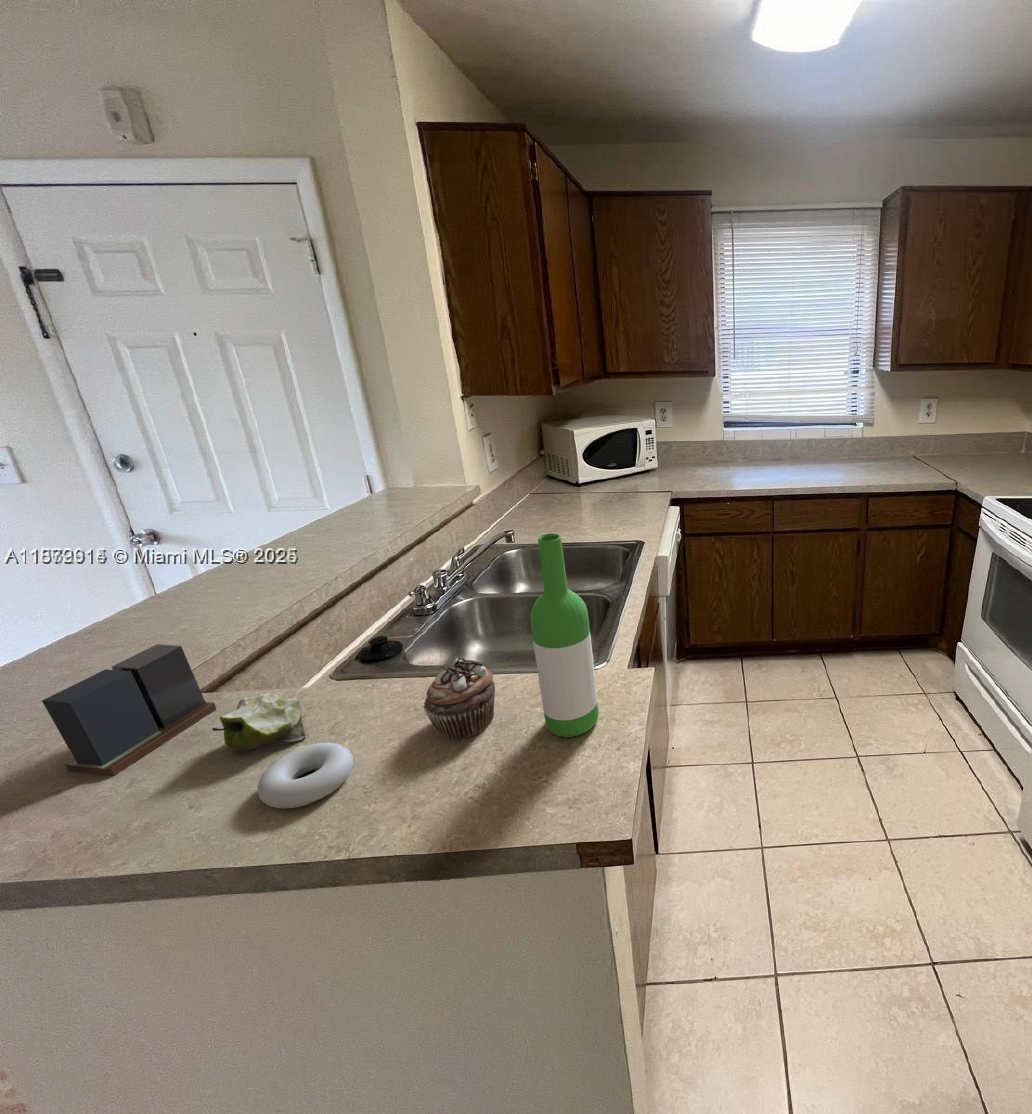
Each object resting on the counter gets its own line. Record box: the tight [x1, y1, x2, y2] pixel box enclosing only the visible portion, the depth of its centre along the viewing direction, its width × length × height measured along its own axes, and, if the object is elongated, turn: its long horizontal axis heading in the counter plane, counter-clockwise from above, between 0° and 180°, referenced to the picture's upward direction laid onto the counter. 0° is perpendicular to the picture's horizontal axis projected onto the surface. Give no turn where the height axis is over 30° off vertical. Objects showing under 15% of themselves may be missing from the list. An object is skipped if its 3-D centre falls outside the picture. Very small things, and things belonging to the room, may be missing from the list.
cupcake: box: [423, 656, 496, 741], centre depth 83 cm, size 10×10×10 cm
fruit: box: [211, 692, 306, 752], centre depth 80 cm, size 9×9×8 cm
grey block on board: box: [64, 643, 217, 776], centre depth 79 cm, size 7×14×11 cm, turn 173°
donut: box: [257, 742, 354, 810], centre depth 73 cm, size 10×4×10 cm
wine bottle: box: [529, 533, 600, 738], centre depth 80 cm, size 8×8×30 cm
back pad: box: [41, 668, 159, 765], centre depth 76 cm, size 7×4×10 cm, turn 173°
